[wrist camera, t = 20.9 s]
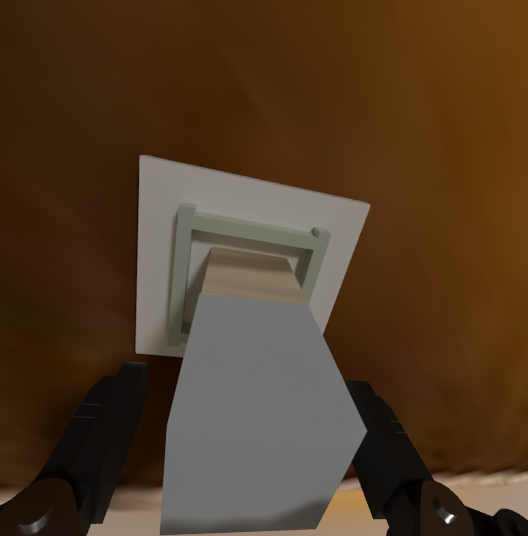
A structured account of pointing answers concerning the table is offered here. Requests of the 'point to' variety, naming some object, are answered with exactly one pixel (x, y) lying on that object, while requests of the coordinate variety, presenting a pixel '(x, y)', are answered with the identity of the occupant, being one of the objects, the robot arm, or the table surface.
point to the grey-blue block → (255, 422)
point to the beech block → (251, 277)
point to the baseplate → (230, 242)
